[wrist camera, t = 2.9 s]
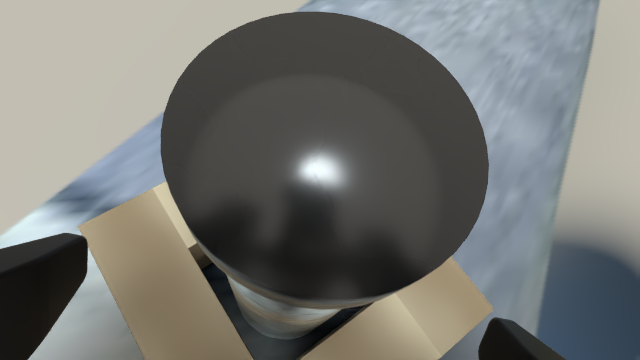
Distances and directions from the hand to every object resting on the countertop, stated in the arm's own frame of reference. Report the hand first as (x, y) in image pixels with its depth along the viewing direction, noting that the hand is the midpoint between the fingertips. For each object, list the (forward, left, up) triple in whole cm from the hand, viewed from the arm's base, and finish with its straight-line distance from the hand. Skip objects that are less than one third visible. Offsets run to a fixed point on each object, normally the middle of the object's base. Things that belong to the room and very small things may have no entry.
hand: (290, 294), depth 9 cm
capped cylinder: (+1, +1, -9) cm, 9 cm away
